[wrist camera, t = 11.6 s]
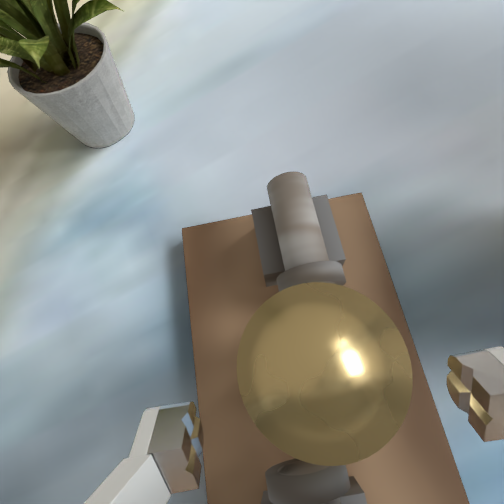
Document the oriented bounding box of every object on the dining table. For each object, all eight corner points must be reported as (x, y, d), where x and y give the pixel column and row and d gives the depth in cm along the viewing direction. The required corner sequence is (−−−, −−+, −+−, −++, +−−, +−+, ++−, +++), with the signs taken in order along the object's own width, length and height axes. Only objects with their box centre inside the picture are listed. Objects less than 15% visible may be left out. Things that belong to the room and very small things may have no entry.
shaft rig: (356, 203, 22) (382, 138, 16) (482, 576, 15) (619, 719, 9) (188, 237, 23) (151, 186, 16) (226, 615, 15) (184, 778, 9)
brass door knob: (338, 317, 18) (380, 268, 10) (363, 411, 16) (440, 448, 8) (255, 333, 18) (226, 298, 10) (270, 427, 16) (251, 480, 8)
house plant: (181, 39, 30) (74, -297, 15) (216, 150, 25) (106, -191, 10) (37, 83, 30) (-216, -209, 15) (42, 205, 25) (-335, -56, 10)
